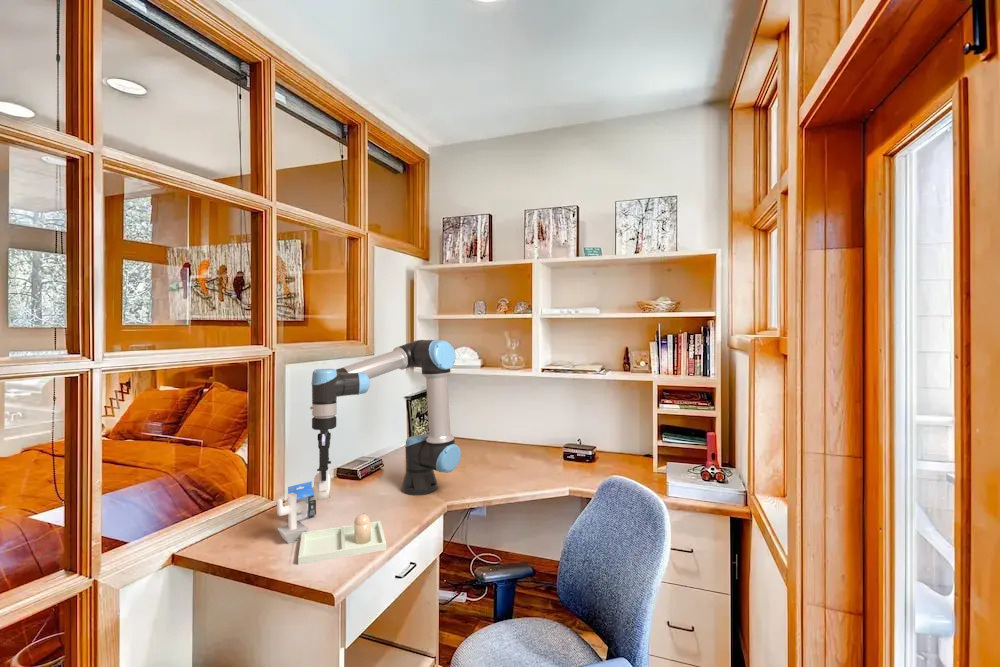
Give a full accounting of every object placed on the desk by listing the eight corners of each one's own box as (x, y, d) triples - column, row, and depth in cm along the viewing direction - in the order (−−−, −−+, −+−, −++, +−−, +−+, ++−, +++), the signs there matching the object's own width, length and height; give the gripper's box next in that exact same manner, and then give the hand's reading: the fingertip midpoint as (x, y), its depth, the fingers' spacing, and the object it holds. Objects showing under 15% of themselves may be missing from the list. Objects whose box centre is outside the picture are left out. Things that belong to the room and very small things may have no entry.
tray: (380, 529, 159) (380, 520, 159) (386, 552, 142) (386, 543, 142) (302, 541, 150) (301, 532, 150) (298, 568, 133) (298, 557, 133)
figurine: (311, 538, 153) (310, 493, 153) (281, 547, 146) (281, 500, 146) (302, 531, 158) (302, 487, 158) (273, 540, 151) (273, 495, 151)
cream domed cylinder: (330, 494, 153) (330, 469, 153) (329, 499, 149) (330, 473, 149) (314, 495, 152) (314, 470, 152) (313, 501, 147) (313, 474, 147)
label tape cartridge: (291, 523, 164) (291, 489, 164) (287, 520, 167) (287, 487, 167) (316, 516, 170) (316, 483, 170) (312, 513, 173) (311, 481, 173)
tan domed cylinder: (370, 536, 151) (369, 510, 151) (371, 542, 147) (370, 516, 147) (354, 538, 150) (353, 512, 150) (354, 545, 145) (354, 518, 145)
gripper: (313, 412, 158) (313, 480, 158) (309, 421, 141) (309, 497, 141) (336, 411, 160) (336, 478, 160) (335, 420, 143) (335, 495, 143)
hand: (324, 487), depth 150 cm, fingers closed on cream domed cylinder, 5 cm apart
